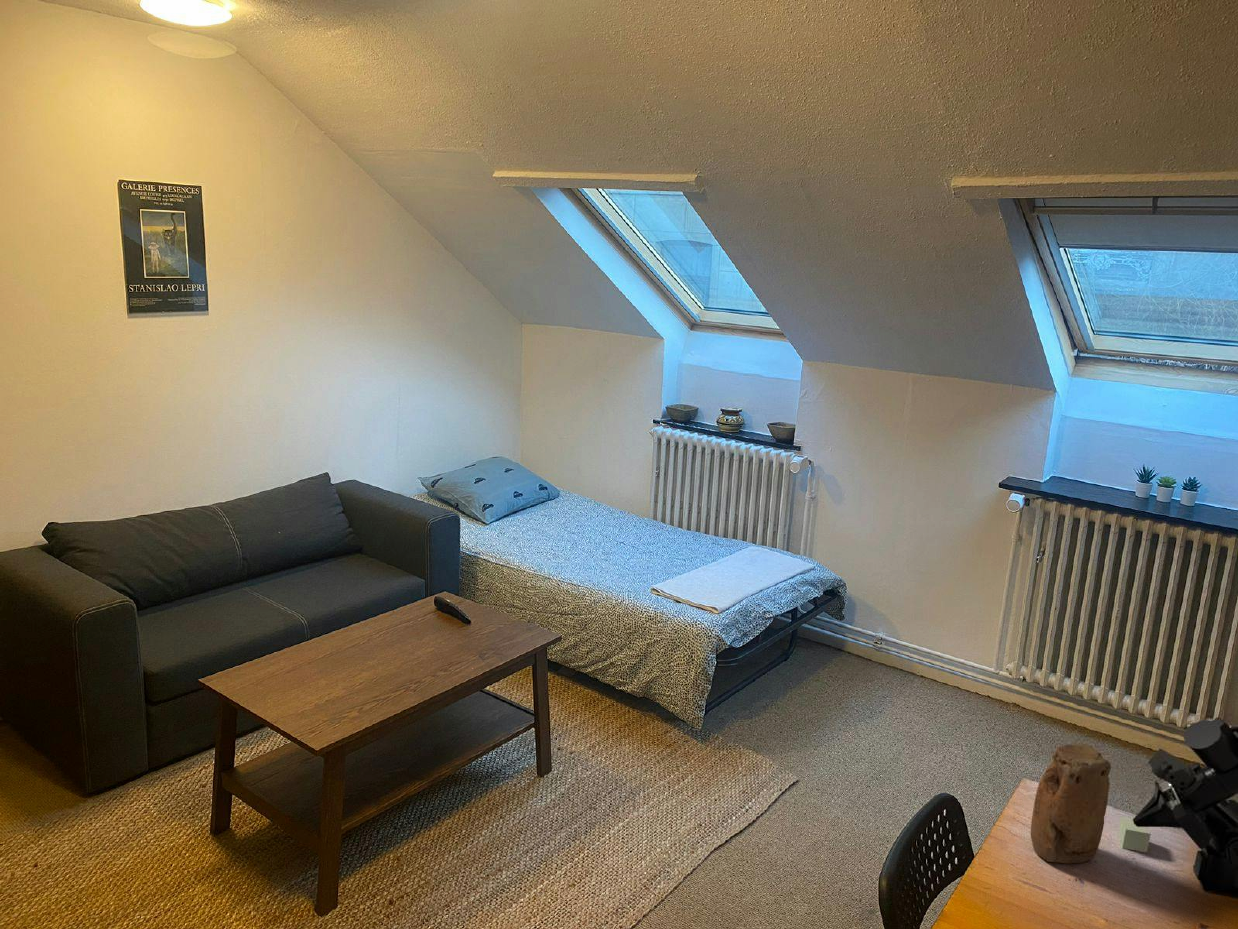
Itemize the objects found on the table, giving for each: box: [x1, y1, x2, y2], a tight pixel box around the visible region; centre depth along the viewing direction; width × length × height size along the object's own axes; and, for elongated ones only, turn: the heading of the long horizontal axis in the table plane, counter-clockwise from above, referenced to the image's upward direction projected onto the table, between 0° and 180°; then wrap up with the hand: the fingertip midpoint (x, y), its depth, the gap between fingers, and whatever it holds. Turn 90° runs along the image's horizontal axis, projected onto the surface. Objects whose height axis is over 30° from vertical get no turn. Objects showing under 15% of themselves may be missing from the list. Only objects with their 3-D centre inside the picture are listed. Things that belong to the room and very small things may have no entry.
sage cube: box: [1117, 815, 1151, 853], centre depth 167 cm, size 4×4×4 cm
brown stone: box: [1030, 743, 1112, 864], centre depth 162 cm, size 11×8×20 cm
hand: (1134, 823), depth 159 cm, fingers closed
